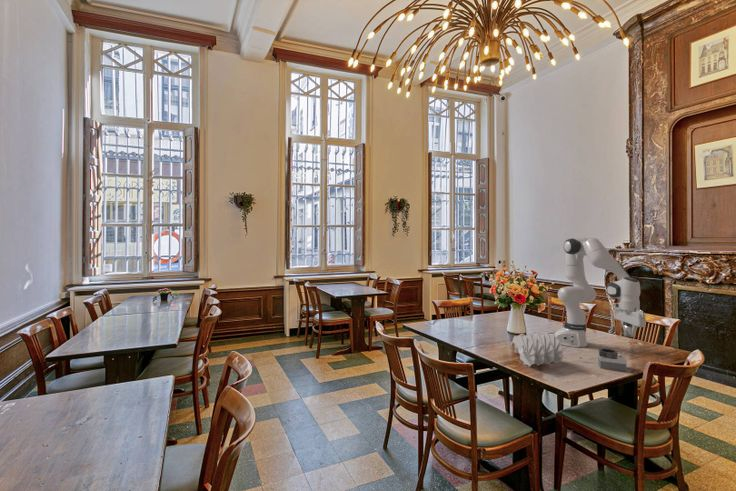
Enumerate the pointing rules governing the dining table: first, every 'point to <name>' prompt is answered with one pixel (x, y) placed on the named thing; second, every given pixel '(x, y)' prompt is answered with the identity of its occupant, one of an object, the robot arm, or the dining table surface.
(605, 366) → the grey stacked block
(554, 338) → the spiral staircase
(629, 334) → the lens
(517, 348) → the teacup with lid
